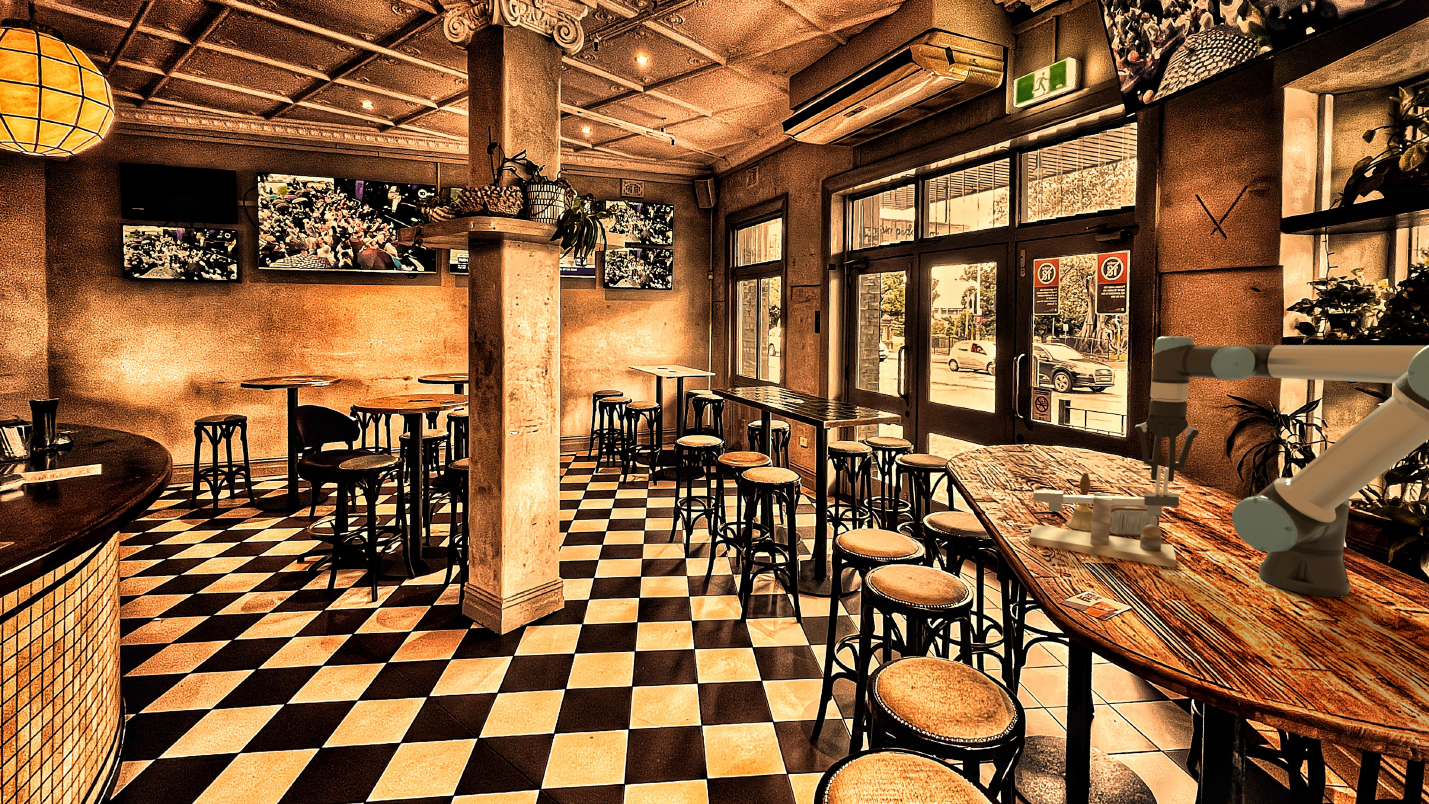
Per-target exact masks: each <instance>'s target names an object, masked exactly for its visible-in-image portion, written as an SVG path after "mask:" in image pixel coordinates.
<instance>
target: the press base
mask: <svg viewBox="0 0 1429 804" xmlns="http://www.w3.org/2000/svg"><path fill="white" fill-rule="evenodd" d="M1093 496H1113V494H1112V493H1103V492H1094V494H1093ZM1111 506H1112V499H1109V498H1101V497H1094V500H1093V504H1092V527H1091V531H1090V532H1089V531H1082V530H1076V529H1067V528H1061V527H1060V528H1059V527H1054V526H1046V525H1040V524H1034V525H1033V527H1032V529H1031V532H1030V534H1029V535H1028V536H1029V537H1028V538H1029V539H1028V544H1029V545H1035V546H1041V547H1047V548H1052V549H1058V550H1065V551H1072V552H1078V553H1081V554H1082V553H1083V554H1090V555H1096V556H1103V557H1108V558H1114V559H1120V560H1125V561H1130V562H1131V561H1132V562H1136V563H1137V562H1138V563H1144V564H1150V565H1156V566H1162V567H1167V568H1175V569H1176V565H1177V557H1176V553H1175V549H1174V546H1173V545H1174V544H1173V545H1172V544H1167V543H1162V542H1163V541H1162V539H1163V538H1162V537H1161V536H1162V531H1161V529H1160V527H1159V526H1158V527H1157V526H1155V525H1146V526H1145V527H1144V528H1143V529H1142V534H1143V535H1141V536H1140V539H1133V538H1129V537H1121V536H1116V535H1110V533H1109V531H1110V518H1111Z"/></svg>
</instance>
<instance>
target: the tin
mask: <svg viewBox="0 0 1429 804" xmlns="http://www.w3.org/2000/svg"><path fill="white" fill-rule="evenodd" d="M1146 525H1155V526H1157V527H1158V528H1159V526H1160V517H1159V516H1157V515H1147V506H1141V505H1112V506H1111V518H1110V531H1109V535H1111V536H1119V537H1121V536H1125V537H1141V535H1143V534H1142V529H1143V528H1144V527H1145V526H1146Z"/></svg>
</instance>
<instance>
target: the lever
mask: <svg viewBox="0 0 1429 804" xmlns="http://www.w3.org/2000/svg"><path fill="white" fill-rule="evenodd" d="M1032 495H1033V502H1036V503H1037V502H1038V503H1048V512H1063V504H1080V503H1084V504H1087V505H1091V504H1092V505H1093V500H1094V497H1101V498H1109V499H1112V505H1140V506H1147V515H1157V516H1163V507H1172V508H1173V507H1178V508H1179V507H1180V497H1179V494H1178V493H1170V492H1167V495H1163V492H1159V494H1155V492H1143V496H1121V495H1119V496H1118V495H1115V496H1114V495H1112V496H1094V495H1081V494H1079V495H1078V494H1064V490H1054V489H1053V490H1052V489H1051V490H1050V489H1048V490H1047V489H1034V491H1033V493H1032Z"/></svg>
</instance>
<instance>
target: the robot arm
mask: <svg viewBox="0 0 1429 804" xmlns="http://www.w3.org/2000/svg"><path fill="white" fill-rule="evenodd" d="M1193 341H1194V339H1193V337H1191V336H1178V335H1177V336H1170V335H1169V336H1159V337H1157V338H1156V340H1155V342H1154V349H1153V353H1152V357H1153V358H1152V359H1153V360H1152V372H1151V373H1152V378H1151V382H1150V383H1151V384H1150V385H1151V386H1150V393H1149V394H1150V395H1149V396H1150V398H1152V399H1150V400H1149V405H1148V406H1149V407H1148V408H1149V409H1148V417H1147V418H1146V419H1145V422H1143V423H1140V424H1135V426H1134V429H1135V431H1136V432H1137V434H1138V436H1139V442H1140V448H1141V454H1142V461H1143V464H1145V465H1147V466H1150V468H1151V469H1150V478H1151V480H1152V481H1155V485H1154V487H1155V488H1154V493H1155V494H1159V493H1160V491H1161V489H1160V487H1161V475H1162V474H1161V473H1162V466H1159V463H1160V462H1159V460H1160V453H1161V445H1162V439H1163V438H1168V463H1167V464H1168V466H1165V467H1164V468H1163V470H1164V471H1163V482H1162V483H1163V484H1162V493H1163V495H1167V493H1168V487H1169V486H1168V485H1169V482H1171V483H1173V482H1174V480H1175V471H1176V469H1179V468H1180V469H1181V468H1184V467H1185V465H1186V462H1187V458H1188V456H1189V453H1190V450H1191V447H1192V445H1193V442H1194V439H1195V438H1196V437H1197V436H1198V435H1199V434H1200V432H1199V430H1198V429H1197V428H1194V427H1193V426H1190V425H1189V422H1188V420H1187V410H1188V402H1187V401H1186V400H1188V398H1189V390H1190V389H1189V388H1190V378H1202V379H1204V378H1205V379H1211V380H1212V379H1213V380H1222V381H1242V380H1246V379H1247V378H1264V379H1265V378H1267V379H1269V378H1271V379H1273V378H1274V379H1293V380H1294V379H1295V380H1314V381H1315V380H1317V381H1339V382H1341V381H1343V382H1361V383H1362V382H1363V383H1383V384H1392V388H1393V395H1392V396H1390V397H1389V398H1388V399H1387V400H1385V401H1384V402H1383V403H1382V404H1380V405H1379V406H1378V407H1377V408H1375V409H1374V410H1373V411H1372V412H1370V414H1368V415H1367V416H1366V417H1364V418H1363V419H1362V420H1361V421H1359V423H1357V424H1356V425H1355V426H1354V427H1352V428H1351V429H1350V430H1349V431H1347V432H1346V433H1345V434H1344V435H1342V436H1341V437H1339V438H1338V439H1337V440H1336V441H1335V442H1334V443H1333V444H1331V445H1330V446H1329V447H1328V448H1326V449H1325V450H1324V451H1322V452H1321V454H1319V455H1318V456H1317V457H1315V458H1314V459H1313V460H1312V461H1310V462H1309V463H1308V464H1306V466H1305V467H1303V468H1302V469H1301V470H1299V471H1298V472H1297V473H1295V475H1293V476H1292V477H1278V478H1275V480H1274V481H1272V482H1271V483H1270V484H1268V486H1266V487H1265V488H1264V489H1262V491H1260V492H1259V493H1258V494H1256V495H1253V496H1249V497H1245V498H1244V499H1242V500H1240V501H1239V502H1238V503H1237V504H1236V505H1235V507H1234V508H1233V510H1232V514H1231V520H1232V526H1233V528H1234V530H1235V532H1236V534H1237V535H1238V537H1239V538H1240V539H1241V540H1242V541H1243V542H1245V543H1246V544H1247V545H1248V546H1250V547H1252V548H1255V549H1257V550H1259V551H1263V552H1266V553H1267V554H1266V556H1265V557H1264V560H1263V561H1261V564H1259V571H1258V576H1259V578H1260V579H1261V580H1263V581H1264V582H1265V583H1267V584H1270V585H1271V586H1275V587H1278V588H1280V589H1283V588H1284V589H1283V590H1286V589H1287V591H1289V590H1291V591H1290V592H1293V591H1294V592H1295V593H1297V592H1298V593H1299V594H1304V595H1307V596H1312V595H1313V596H1314V597H1319V596H1322V598H1332V597H1337V598H1342V597H1341V596H1345V597H1347V596H1346V595H1348V594H1349V595H1350V593H1349V592H1351V591H1350V590H1351V581H1350V579H1349V578H1348V577H1349V576H1348V572H1347V568H1346V565H1345V562H1344V559H1343V557H1344V556H1343V555H1344V554H1343V553H1344V548H1345V541H1346V540H1345V539H1346V534H1347V533H1346V532H1347V526H1348V517H1349V510H1350V508H1351V505H1350V498H1351V497H1352V496H1354V495H1355V494H1357V493H1358V492H1360V490H1362V489H1363V488H1365V487H1366V486H1368V485H1369V484H1370V483H1372V482H1373V481H1374V480H1375V479H1377V478H1378V477H1380V476H1381V475H1382V474H1383V473H1385V472H1387V471H1388V470H1389V469H1390V468H1392V467H1393V466H1394V465H1395V464H1397V463H1398V462H1400V461H1401V460H1402V459H1404V458H1405V457H1406V456H1408V455H1410V453H1412V452H1413V451H1414V450H1416V449H1417V448H1419V447H1420V446H1422V445H1423V444H1424V443H1426V442H1427V441H1428V440H1429V344H1428V345H1374V344H1373V345H1369V344H1368V345H1367V344H1366V345H1363V344H1362V345H1355V344H1353V345H1352V344H1351V345H1349V344H1348V345H1345V344H1343V345H1341V344H1340V345H1339V344H1337V345H1336V344H1335V345H1332V344H1329V345H1325V344H1324V345H1322V344H1321V345H1320V344H1316V345H1315V344H1313V345H1312V344H1311V345H1310V344H1308V345H1306V344H1299V345H1298V344H1297V345H1295V344H1293V345H1292V344H1290V345H1289V344H1288V345H1287V344H1283V345H1282V344H1277V345H1273V344H1262V343H1261V344H1260V343H1259V344H1249V345H1245V344H1244V345H1198V344H1197V345H1196V344H1194V342H1193ZM1147 428H1149V430H1150V431H1151V432H1152V433H1153V435H1154V444H1153V451H1152V459H1150V458H1149V457H1150V456H1149V452H1148V451H1149V450H1148V446H1147V445H1148V444H1147V438H1146V434H1145V433H1146V432H1147ZM1185 430H1186V431H1185ZM1184 431H1185V434H1186V437H1185V440H1184V441H1183V445H1182V449H1181V450H1180V454H1179V457H1178V460H1177V461H1176V449H1177V448H1176V444H1177V437H1178V436H1179V435H1181V434H1182V433H1183V432H1184ZM1298 593H1297V594H1298ZM1349 595H1348V596H1349Z"/></svg>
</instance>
